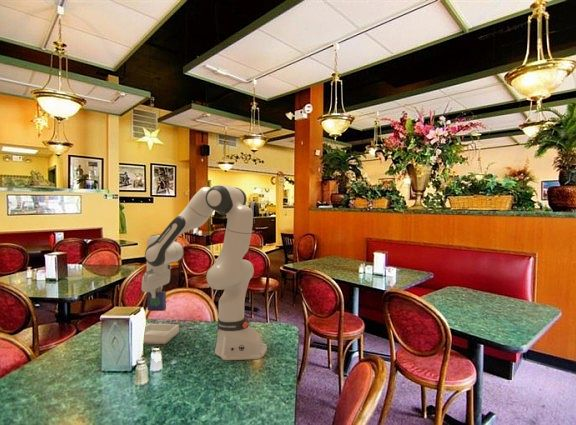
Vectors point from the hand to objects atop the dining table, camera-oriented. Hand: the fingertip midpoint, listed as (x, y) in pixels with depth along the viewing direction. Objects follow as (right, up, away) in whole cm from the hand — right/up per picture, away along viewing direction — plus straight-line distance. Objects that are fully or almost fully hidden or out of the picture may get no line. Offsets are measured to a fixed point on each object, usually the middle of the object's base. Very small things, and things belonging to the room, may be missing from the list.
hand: (156, 296), depth 152 cm
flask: (0, -7, 0) cm, 7 cm away
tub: (0, -20, 0) cm, 20 cm away
